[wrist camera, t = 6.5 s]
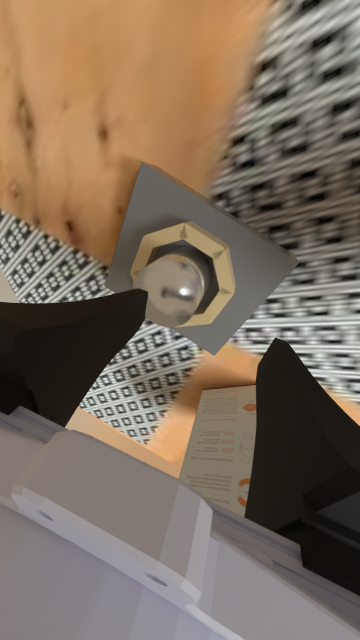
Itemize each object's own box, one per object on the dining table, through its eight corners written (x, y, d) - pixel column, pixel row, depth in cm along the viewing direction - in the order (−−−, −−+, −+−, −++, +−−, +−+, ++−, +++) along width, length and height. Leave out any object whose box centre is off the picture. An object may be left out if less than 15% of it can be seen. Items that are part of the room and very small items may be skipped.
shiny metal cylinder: (219, 256, 16) (205, 278, 12) (202, 304, 18) (186, 336, 14) (166, 238, 16) (136, 253, 12) (157, 287, 19) (129, 313, 15)
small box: (218, 420, 30) (197, 547, 19) (201, 388, 27) (166, 511, 17) (279, 419, 26) (296, 576, 15) (265, 382, 24) (273, 534, 13)
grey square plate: (293, 254, 17) (303, 268, 13) (218, 341, 23) (211, 365, 20) (155, 165, 16) (130, 158, 13) (118, 277, 23) (95, 291, 19)
